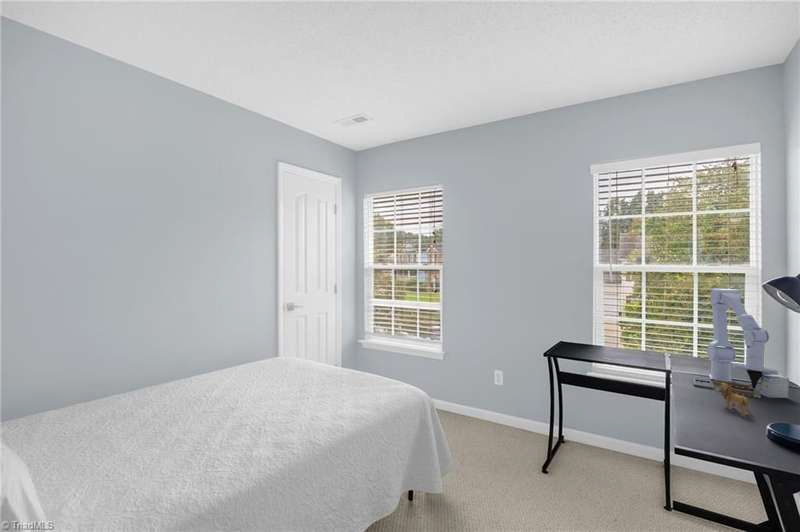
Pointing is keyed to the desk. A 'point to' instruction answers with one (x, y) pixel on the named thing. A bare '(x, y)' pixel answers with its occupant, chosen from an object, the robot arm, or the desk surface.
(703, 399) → the desk surface
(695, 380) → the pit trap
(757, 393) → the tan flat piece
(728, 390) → the lion figurine
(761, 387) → the medicine box
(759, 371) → the robot arm
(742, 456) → the desk surface
